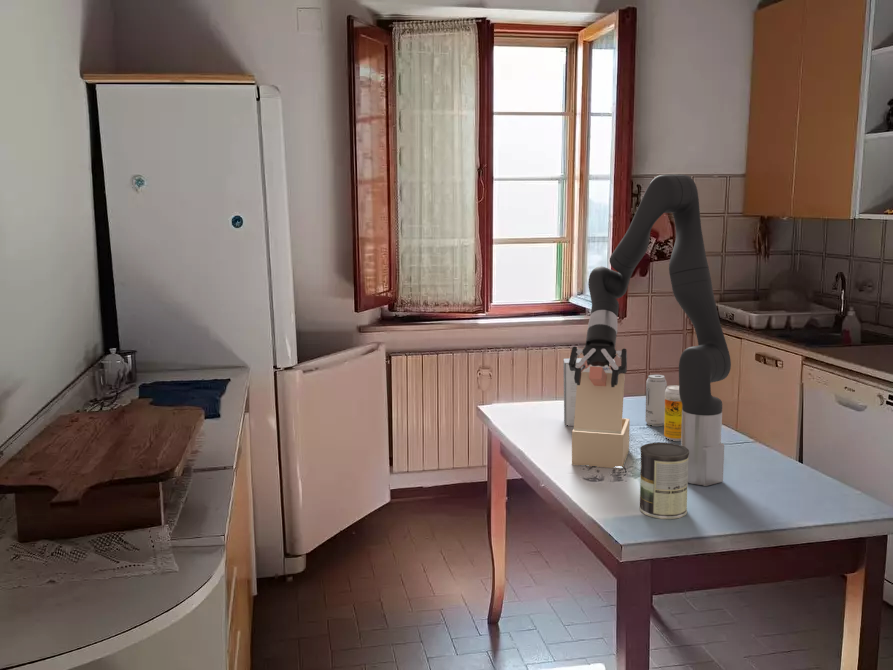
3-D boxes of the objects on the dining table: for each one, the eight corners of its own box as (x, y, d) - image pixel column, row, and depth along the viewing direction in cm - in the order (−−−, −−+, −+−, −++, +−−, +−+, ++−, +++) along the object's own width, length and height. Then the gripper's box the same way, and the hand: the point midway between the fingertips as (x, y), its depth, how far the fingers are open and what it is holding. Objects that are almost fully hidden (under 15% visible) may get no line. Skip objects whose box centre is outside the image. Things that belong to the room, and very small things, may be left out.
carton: (581, 446, 224) (581, 415, 223) (629, 450, 220) (629, 418, 219) (571, 464, 209) (572, 431, 208) (622, 469, 205) (623, 435, 204)
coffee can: (630, 512, 177) (632, 450, 175) (651, 498, 185) (652, 439, 182) (675, 523, 170) (677, 459, 168) (694, 508, 178) (696, 447, 176)
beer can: (664, 441, 228) (665, 389, 226) (663, 434, 234) (665, 384, 232) (686, 442, 227) (688, 390, 224) (685, 436, 233) (686, 385, 230)
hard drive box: (613, 420, 251) (614, 357, 248) (615, 426, 243) (616, 362, 240) (563, 419, 253) (563, 357, 249) (564, 426, 245) (564, 362, 242)
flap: (578, 372, 211) (571, 363, 201) (624, 374, 208) (620, 365, 197) (574, 430, 208) (567, 424, 198) (621, 434, 204) (616, 428, 194)
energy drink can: (642, 421, 248) (643, 374, 246) (661, 421, 249) (663, 373, 246) (648, 427, 242) (649, 378, 240) (668, 426, 243) (669, 378, 240)
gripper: (572, 322, 207) (564, 375, 198) (629, 323, 203) (623, 377, 194) (576, 339, 213) (568, 391, 204) (631, 341, 209) (625, 394, 200)
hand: (595, 384), depth 199 cm, fingers open, 8 cm apart
